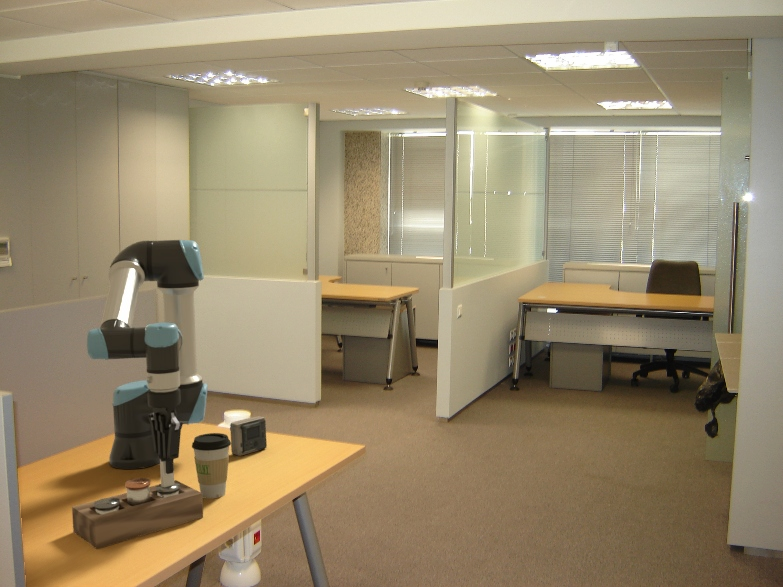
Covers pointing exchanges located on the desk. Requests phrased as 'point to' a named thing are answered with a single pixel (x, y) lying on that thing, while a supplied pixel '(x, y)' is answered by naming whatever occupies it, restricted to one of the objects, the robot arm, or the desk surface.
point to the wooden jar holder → (136, 516)
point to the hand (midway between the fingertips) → (167, 485)
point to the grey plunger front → (106, 505)
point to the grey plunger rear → (167, 490)
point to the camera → (248, 435)
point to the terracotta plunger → (137, 491)
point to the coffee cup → (212, 463)
